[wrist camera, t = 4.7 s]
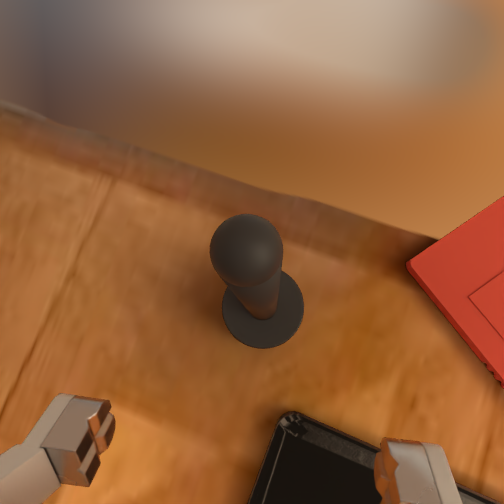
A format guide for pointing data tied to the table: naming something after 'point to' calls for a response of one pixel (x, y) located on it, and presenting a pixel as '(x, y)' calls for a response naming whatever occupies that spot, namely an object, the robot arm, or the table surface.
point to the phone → (322, 467)
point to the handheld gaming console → (470, 282)
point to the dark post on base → (255, 282)
